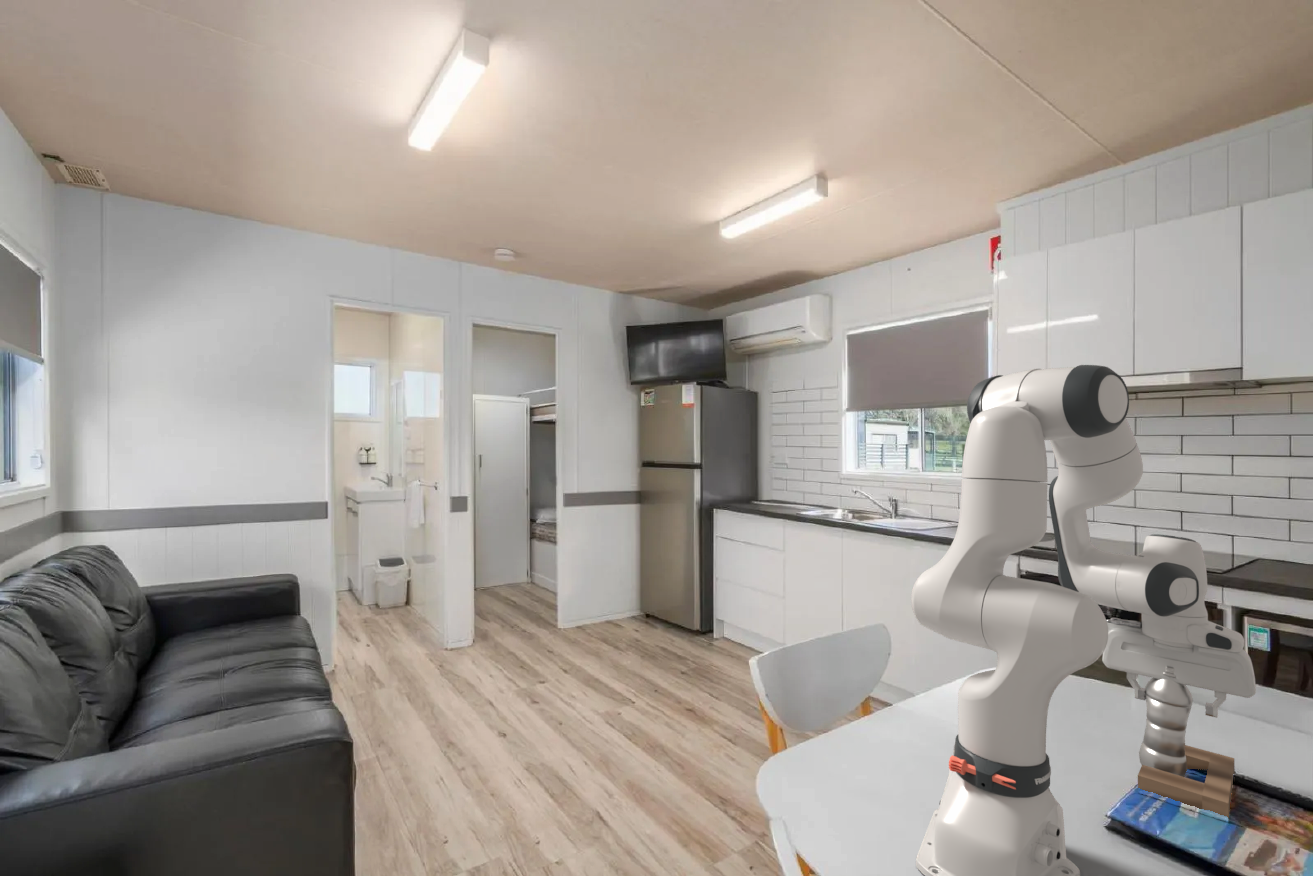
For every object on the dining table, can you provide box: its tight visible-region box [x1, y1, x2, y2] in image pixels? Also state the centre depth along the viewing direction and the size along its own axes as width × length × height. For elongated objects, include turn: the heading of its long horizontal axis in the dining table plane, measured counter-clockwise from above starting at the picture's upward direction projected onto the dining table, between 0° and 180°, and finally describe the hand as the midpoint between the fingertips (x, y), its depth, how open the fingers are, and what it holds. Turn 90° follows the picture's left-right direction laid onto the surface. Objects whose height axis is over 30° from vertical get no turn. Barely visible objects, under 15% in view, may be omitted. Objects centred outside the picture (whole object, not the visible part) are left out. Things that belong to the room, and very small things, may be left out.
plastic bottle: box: [1138, 666, 1194, 778], centre depth 105 cm, size 6×7×20 cm
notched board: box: [1137, 744, 1236, 819], centre depth 103 cm, size 20×11×3 cm, turn 134°
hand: (1174, 707), depth 104 cm, fingers open, 8 cm apart
